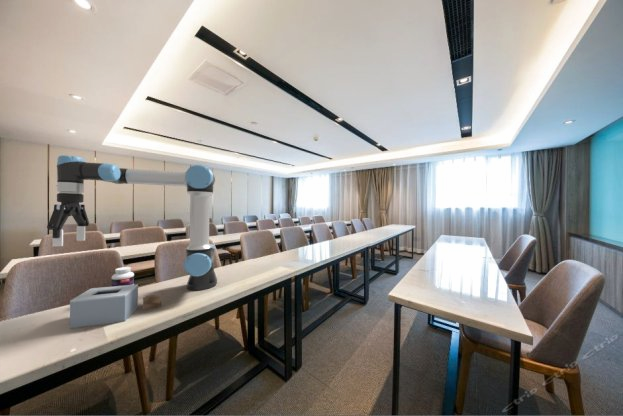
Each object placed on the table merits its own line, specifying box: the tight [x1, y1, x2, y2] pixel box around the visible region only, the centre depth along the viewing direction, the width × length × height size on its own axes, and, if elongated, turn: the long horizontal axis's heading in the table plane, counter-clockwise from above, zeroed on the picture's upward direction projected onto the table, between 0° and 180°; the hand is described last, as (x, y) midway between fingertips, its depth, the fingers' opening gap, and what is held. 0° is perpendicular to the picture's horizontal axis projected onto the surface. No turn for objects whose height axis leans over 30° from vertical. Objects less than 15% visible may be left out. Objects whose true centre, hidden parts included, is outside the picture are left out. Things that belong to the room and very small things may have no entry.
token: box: [142, 293, 163, 310], centre depth 94 cm, size 6×2×5 cm, turn 110°
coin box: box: [69, 283, 139, 329], centre depth 85 cm, size 16×12×10 cm
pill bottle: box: [110, 266, 135, 287], centre depth 102 cm, size 8×8×14 cm
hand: (70, 243), depth 91 cm, fingers open, 13 cm apart
